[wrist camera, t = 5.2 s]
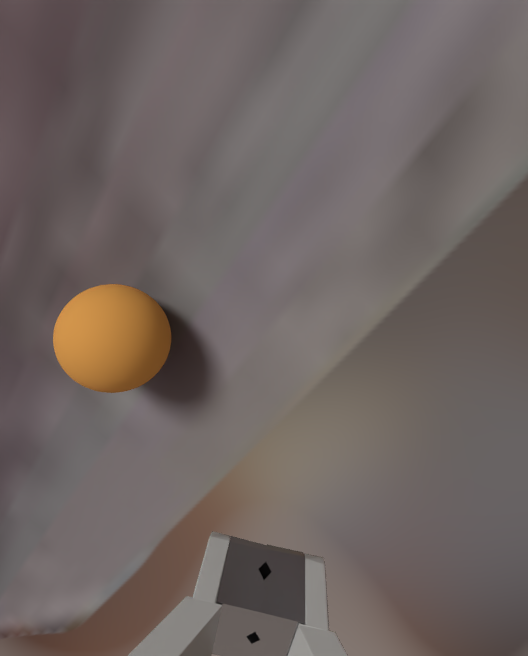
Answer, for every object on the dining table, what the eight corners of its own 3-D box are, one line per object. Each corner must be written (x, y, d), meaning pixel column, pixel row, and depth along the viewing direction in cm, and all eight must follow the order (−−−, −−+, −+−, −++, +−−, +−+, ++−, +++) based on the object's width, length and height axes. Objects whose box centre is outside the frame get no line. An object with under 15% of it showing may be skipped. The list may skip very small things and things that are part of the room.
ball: (190, 285, 19) (146, 317, 14) (181, 371, 21) (139, 426, 16) (96, 264, 20) (19, 289, 14) (95, 351, 22) (29, 399, 17)
